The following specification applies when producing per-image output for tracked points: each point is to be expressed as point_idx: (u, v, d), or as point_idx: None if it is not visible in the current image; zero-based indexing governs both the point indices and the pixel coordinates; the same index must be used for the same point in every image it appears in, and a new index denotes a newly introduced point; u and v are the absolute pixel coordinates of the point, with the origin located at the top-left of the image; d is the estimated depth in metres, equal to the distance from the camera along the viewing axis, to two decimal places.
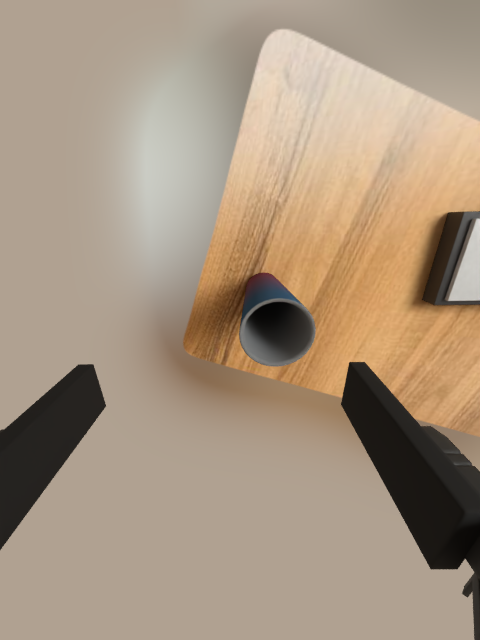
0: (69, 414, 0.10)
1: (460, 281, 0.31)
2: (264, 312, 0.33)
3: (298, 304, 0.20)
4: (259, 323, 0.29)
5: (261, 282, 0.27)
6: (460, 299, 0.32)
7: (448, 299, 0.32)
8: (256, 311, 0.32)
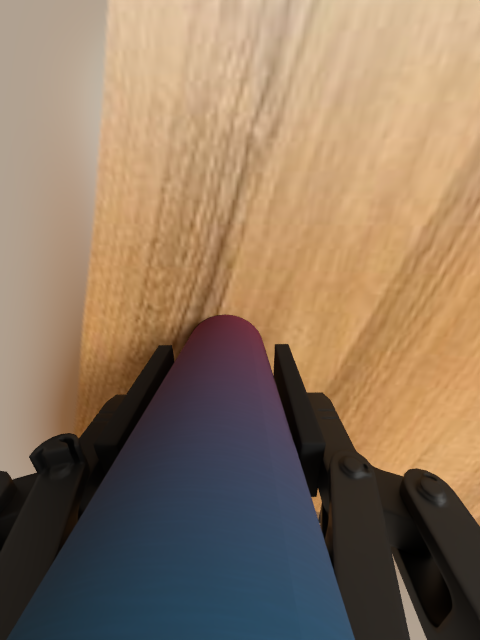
0: None
1: None
2: None
3: None
4: None
5: (186, 381, 0.08)
6: None
7: None
8: None
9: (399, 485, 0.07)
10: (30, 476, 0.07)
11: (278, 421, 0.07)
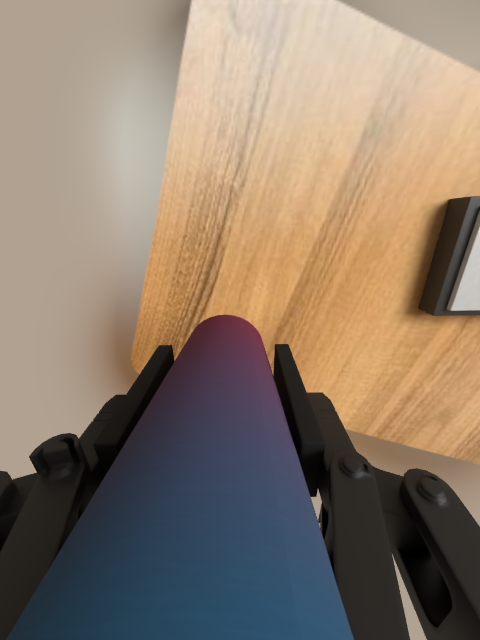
0: None
1: (466, 286, 0.24)
2: None
3: None
4: None
5: (186, 381, 0.08)
6: (466, 308, 0.25)
7: (451, 308, 0.25)
8: None
9: (399, 485, 0.07)
10: (30, 476, 0.07)
11: (278, 421, 0.07)
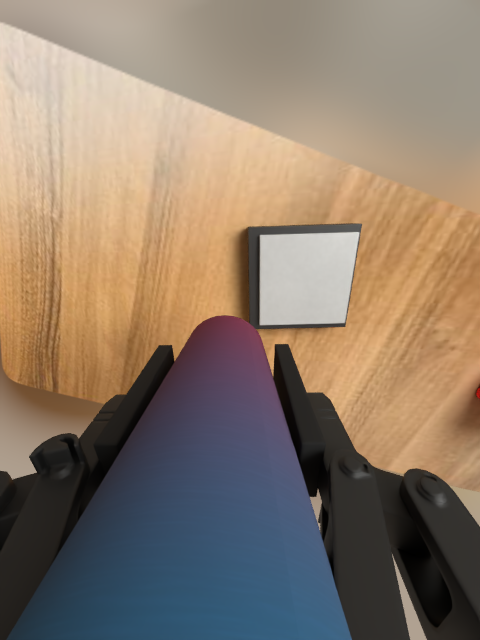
0: None
1: (266, 304, 0.27)
2: None
3: None
4: None
5: (186, 382, 0.08)
6: (273, 323, 0.28)
7: (260, 323, 0.28)
8: None
9: (399, 485, 0.07)
10: (30, 476, 0.07)
11: (277, 422, 0.07)
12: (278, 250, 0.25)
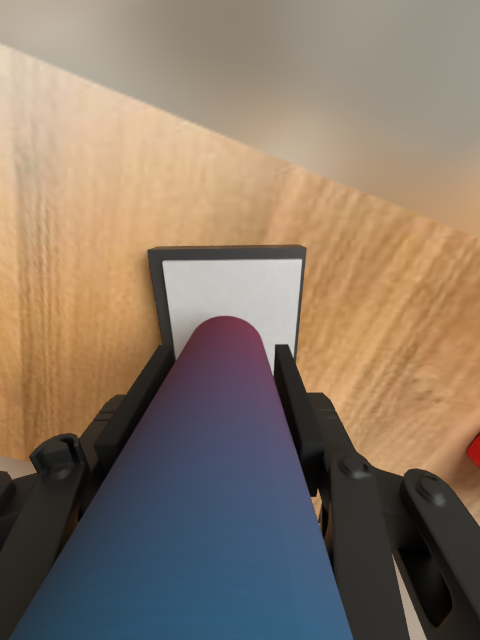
0: None
1: None
2: None
3: None
4: None
5: (186, 382, 0.08)
6: None
7: None
8: None
9: (399, 485, 0.07)
10: (30, 476, 0.07)
11: (278, 422, 0.07)
12: (190, 282, 0.18)
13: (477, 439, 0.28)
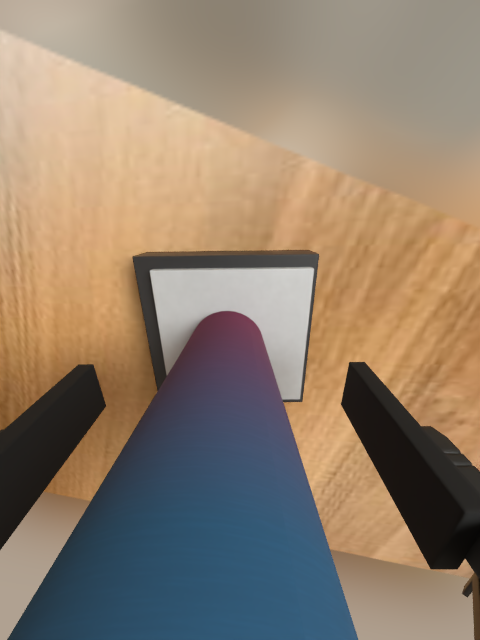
0: (69, 414, 0.10)
1: None
2: None
3: None
4: None
5: (193, 367, 0.09)
6: None
7: None
8: None
9: None
10: None
11: (275, 401, 0.08)
12: (183, 294, 0.15)
13: None
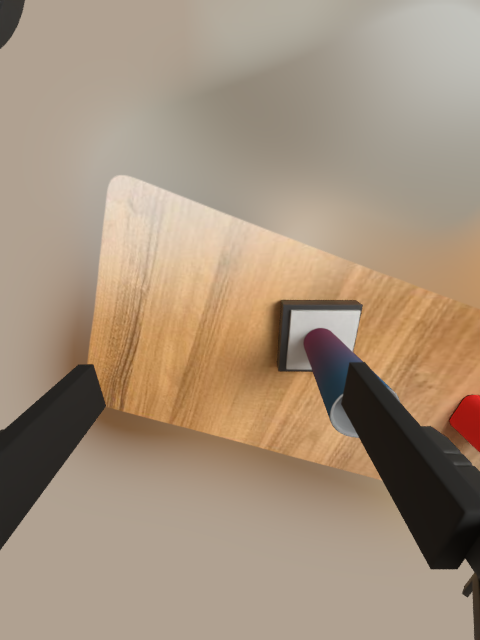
0: (69, 414, 0.10)
1: (292, 355, 0.38)
2: None
3: None
4: None
5: (332, 348, 0.29)
6: (296, 368, 0.39)
7: (286, 368, 0.39)
8: None
9: None
10: None
11: (358, 358, 0.29)
12: (303, 320, 0.36)
13: (455, 412, 0.45)
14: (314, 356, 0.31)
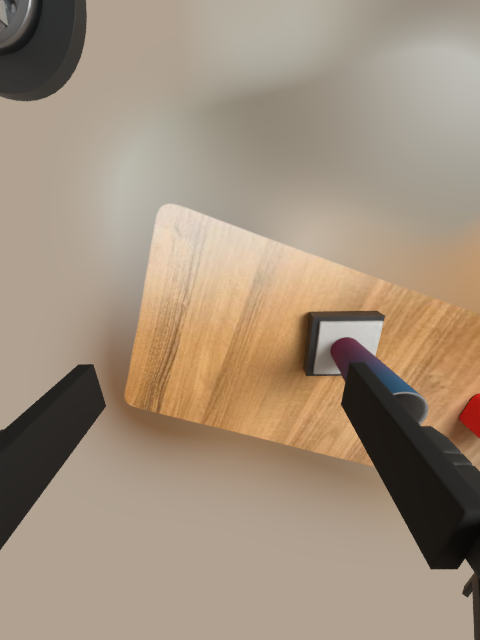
0: (69, 414, 0.10)
1: (319, 361, 0.42)
2: None
3: (419, 395, 0.26)
4: None
5: (362, 357, 0.33)
6: (323, 373, 0.43)
7: (314, 373, 0.43)
8: None
9: None
10: None
11: None
12: (331, 331, 0.39)
13: (464, 409, 0.49)
14: (345, 364, 0.35)
